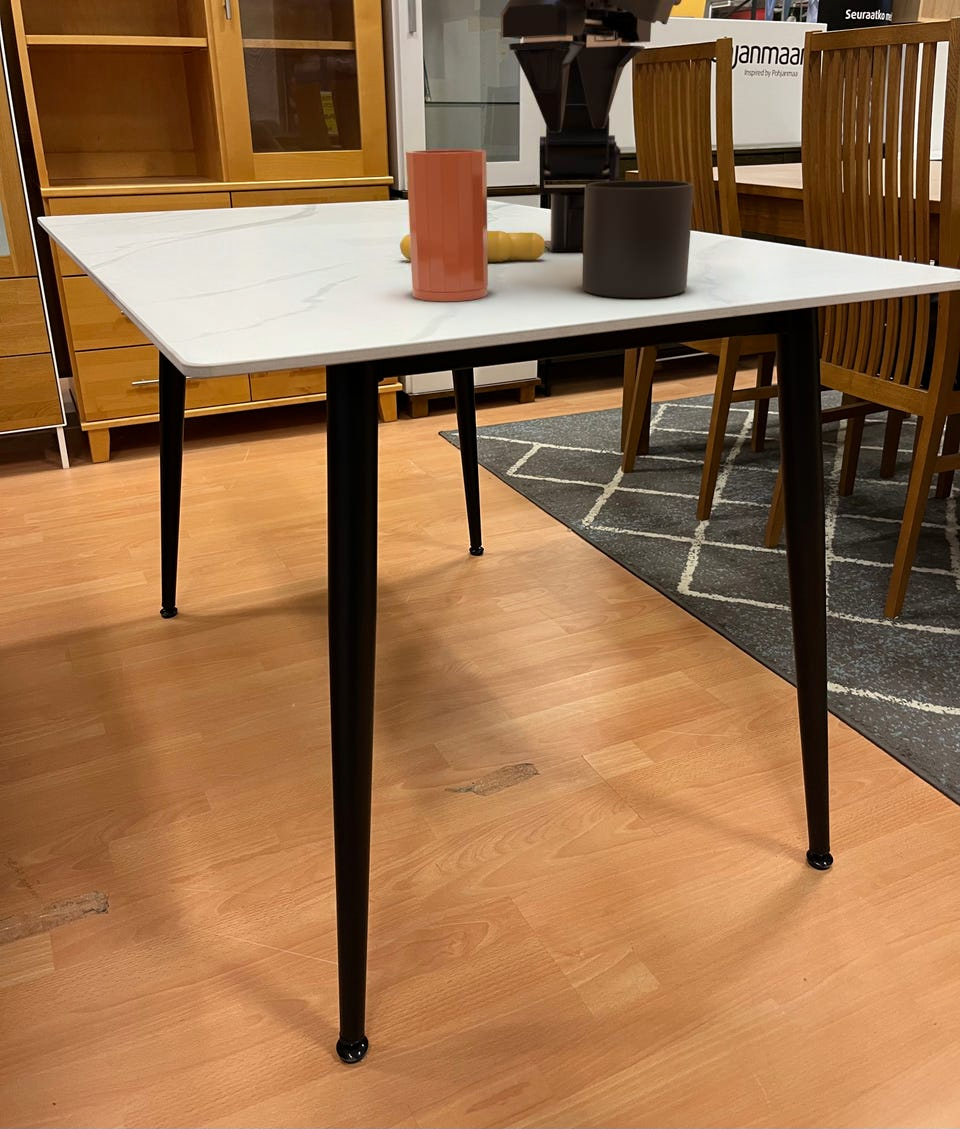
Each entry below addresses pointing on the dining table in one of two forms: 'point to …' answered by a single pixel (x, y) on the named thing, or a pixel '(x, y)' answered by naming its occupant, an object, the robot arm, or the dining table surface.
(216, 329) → the dining table surface
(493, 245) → the yellow ridged dog toy
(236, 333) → the dining table surface
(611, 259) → the mug
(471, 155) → the pot
